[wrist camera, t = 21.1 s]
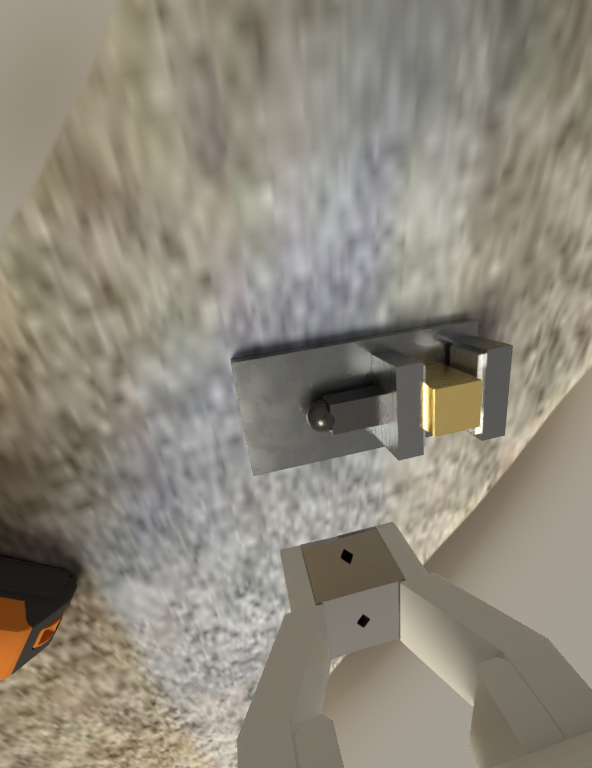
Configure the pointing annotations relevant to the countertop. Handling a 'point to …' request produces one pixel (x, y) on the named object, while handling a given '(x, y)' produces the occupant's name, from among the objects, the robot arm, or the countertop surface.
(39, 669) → the countertop surface
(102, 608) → the countertop surface
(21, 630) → the power drill
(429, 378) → the block
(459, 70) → the countertop surface
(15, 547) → the countertop surface
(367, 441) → the vise
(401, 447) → the jaw
